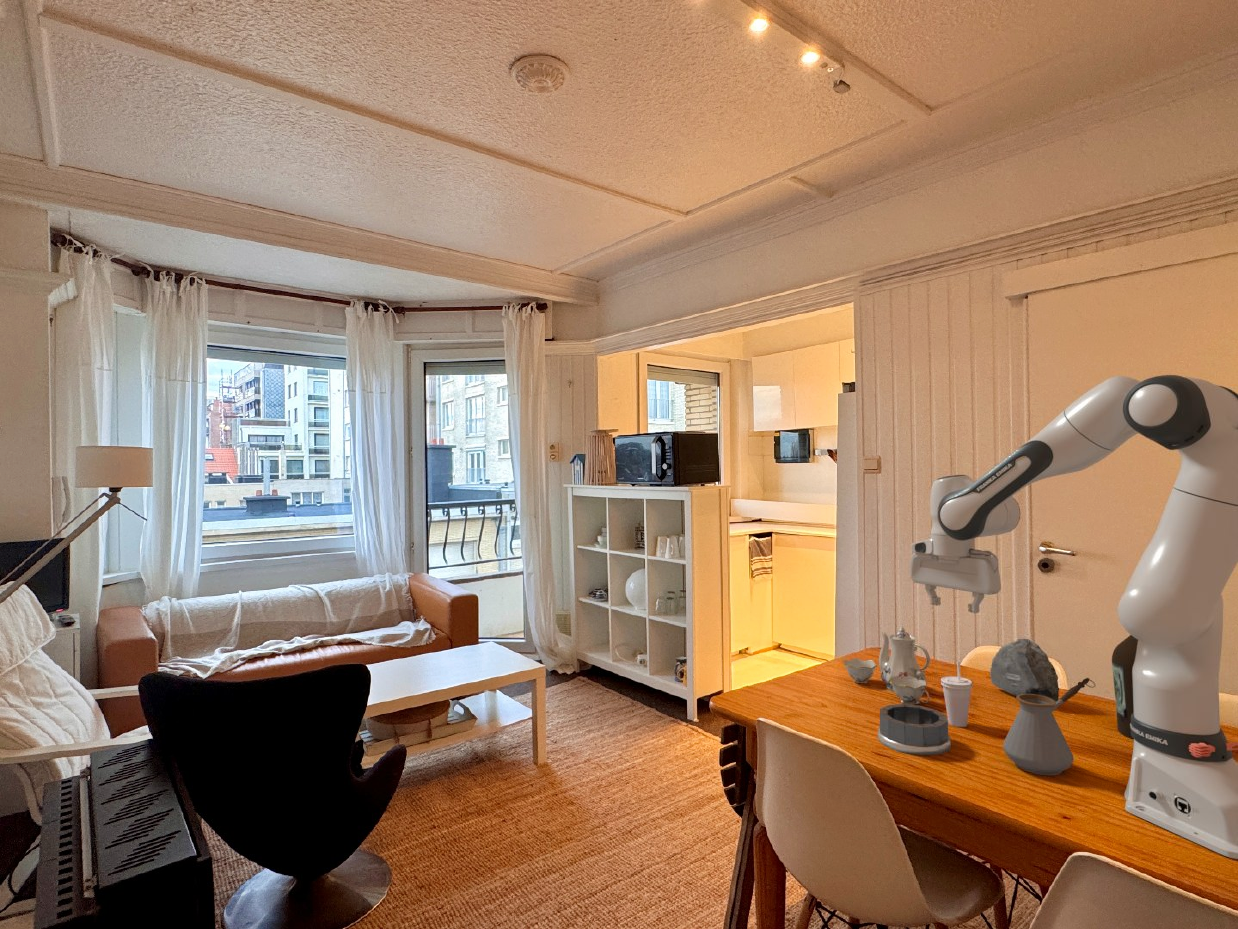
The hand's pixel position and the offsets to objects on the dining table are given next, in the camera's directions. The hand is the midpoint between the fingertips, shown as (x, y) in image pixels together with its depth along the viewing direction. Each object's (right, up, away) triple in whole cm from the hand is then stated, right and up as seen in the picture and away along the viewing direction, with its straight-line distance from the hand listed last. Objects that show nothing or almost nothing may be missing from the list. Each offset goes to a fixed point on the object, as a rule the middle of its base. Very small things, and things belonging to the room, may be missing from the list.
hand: (954, 608), depth 148 cm
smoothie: (+1, -26, 0) cm, 26 cm away
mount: (-13, -26, -9) cm, 31 cm away
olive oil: (+36, -25, -9) cm, 45 cm away
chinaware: (-4, -27, +23) cm, 35 cm away
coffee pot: (+9, -26, -20) cm, 34 cm away
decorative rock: (+25, -26, +15) cm, 39 cm away
